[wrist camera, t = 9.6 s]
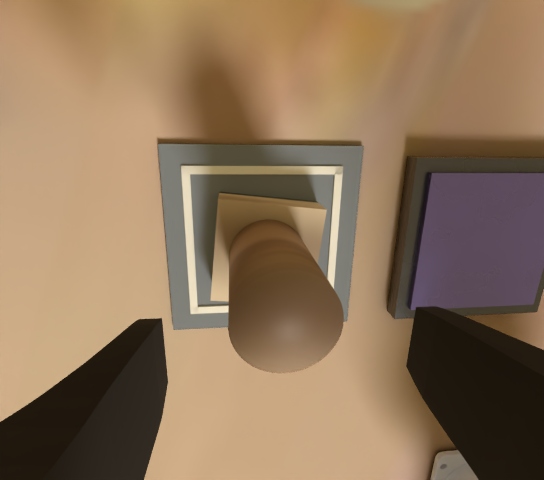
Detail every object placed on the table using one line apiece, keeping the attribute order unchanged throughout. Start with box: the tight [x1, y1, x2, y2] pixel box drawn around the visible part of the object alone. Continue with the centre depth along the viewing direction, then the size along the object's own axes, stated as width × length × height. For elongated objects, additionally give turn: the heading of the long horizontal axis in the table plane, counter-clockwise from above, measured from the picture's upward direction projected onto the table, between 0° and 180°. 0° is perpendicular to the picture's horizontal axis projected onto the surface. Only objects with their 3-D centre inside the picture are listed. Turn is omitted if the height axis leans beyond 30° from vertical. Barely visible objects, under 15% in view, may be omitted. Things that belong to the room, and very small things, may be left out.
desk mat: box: [158, 144, 364, 330], centre depth 18 cm, size 10×10×1 cm
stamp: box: [210, 192, 344, 373], centre depth 14 cm, size 5×5×8 cm
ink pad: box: [387, 156, 544, 319], centre depth 19 cm, size 9×9×1 cm
